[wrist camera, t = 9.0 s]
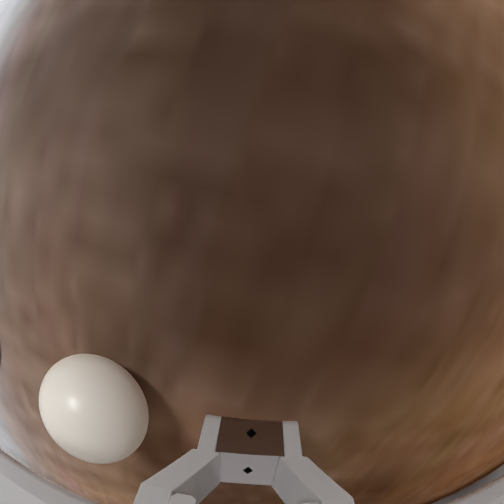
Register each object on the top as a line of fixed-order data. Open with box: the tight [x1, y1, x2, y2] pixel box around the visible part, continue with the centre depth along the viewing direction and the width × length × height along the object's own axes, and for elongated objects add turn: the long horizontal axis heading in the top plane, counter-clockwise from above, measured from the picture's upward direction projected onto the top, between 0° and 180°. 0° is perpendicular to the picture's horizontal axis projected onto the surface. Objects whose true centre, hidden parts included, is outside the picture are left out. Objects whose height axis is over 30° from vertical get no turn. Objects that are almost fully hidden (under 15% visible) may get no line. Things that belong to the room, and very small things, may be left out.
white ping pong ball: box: [39, 354, 149, 464], centre depth 10 cm, size 6×6×6 cm
